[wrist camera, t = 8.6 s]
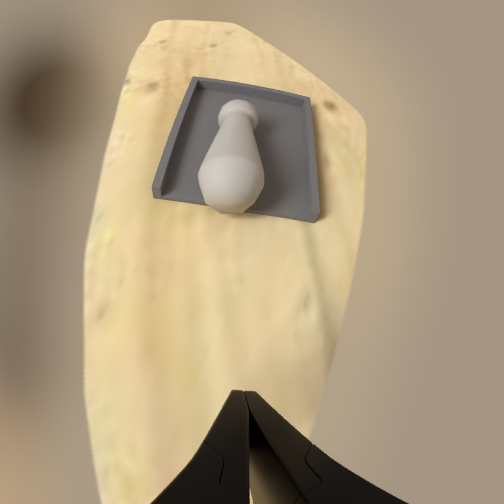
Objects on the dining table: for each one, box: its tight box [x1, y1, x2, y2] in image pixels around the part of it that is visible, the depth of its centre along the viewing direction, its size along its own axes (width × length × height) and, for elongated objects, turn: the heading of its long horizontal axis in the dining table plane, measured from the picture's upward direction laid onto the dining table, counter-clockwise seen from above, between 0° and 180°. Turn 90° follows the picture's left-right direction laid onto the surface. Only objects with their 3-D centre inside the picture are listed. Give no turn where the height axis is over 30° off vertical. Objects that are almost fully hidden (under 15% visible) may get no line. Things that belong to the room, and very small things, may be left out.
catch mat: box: [152, 77, 320, 223], centre depth 32 cm, size 19×16×2 cm
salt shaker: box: [198, 99, 264, 214], centre depth 28 cm, size 6×6×13 cm
